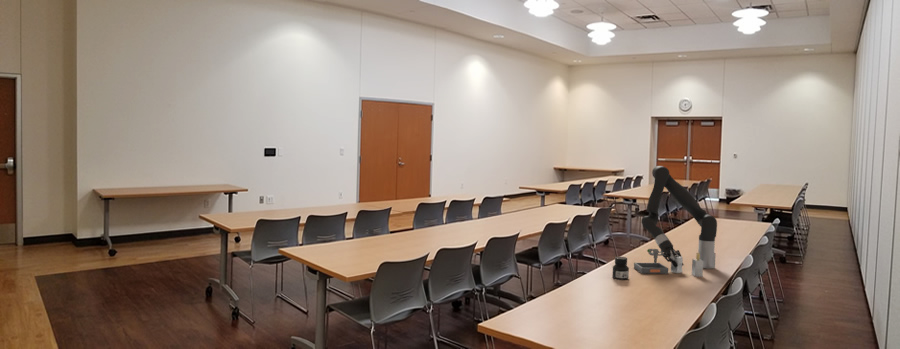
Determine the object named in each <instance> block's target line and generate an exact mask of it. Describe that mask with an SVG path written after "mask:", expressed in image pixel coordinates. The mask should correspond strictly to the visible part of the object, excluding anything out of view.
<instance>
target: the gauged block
mask: <svg viewBox="0 0 900 349" xmlns="http://www.w3.org/2000/svg"><path fill="white" fill-rule="evenodd" d="M695 255H696V256H695V258H692V261H691V276H692V277H696V278H699V277H700V278H701V277H703V275H704V274H703V273H704V268H703V260H701V259H700V253H698V252H696V254H695Z"/></svg>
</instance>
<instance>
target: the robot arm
mask: <svg viewBox="0 0 900 349" xmlns="http://www.w3.org/2000/svg"><path fill="white" fill-rule="evenodd" d="M651 172H652V173H651V174H652V177H653V179H654V182H653V183H654V184H653V188H652V191H651V193H650V194H649V195H650V196H649V197H648V201H647V206H646V212H647V213H648V215H645V216H642V218H641V224H642V226H643V228H644V229H645V230H646V231H647V232H648V233H649V234H650V235H651V236H652V238H653V239H654V241H655V244H656V245H657V246H658V248H659V250H660V252H661V251H662V252H663V254H662V257H663V258H664V259H665V261H667V263H669V262H670V263H672V264H673V266H674V267H677V266H678V265H677V263H676V262H675V260H674V258H673V256H680V257H683V256H682V255H681V251H680V250H678V249H677V250H675V248H674V244H672V241H671V240H670V239H669V237H668V236H667V235H666V234H665V233H664V230H663V229H662V228H661V227H659V226H657V225H658V222H659V209H660V204H661V201H662V195H663V192H664V189H666V190H667V192H669V194H670V195H671V196H672V197H673V199H674V200H675V202H677V203H678V205H680V206H681V207H682V208H683V209H684V210H685V211H686V212H688V213H689V214H690V216H692V217H693V218H694V220H695V222H696V223H697V224H698V225H699V227H700V234H699V235H698V248H697V251H698V252H697V253H700V259H701V260H703V269H706V270H707V269H709V270H710V269H715V268H716V257H717V256H716V255H717V254H716V252H715V244H716V243H715V242H716V238H717V231H718V221H717V219H716V217H715V216H713V215H710V214H709V213H707V212H706V211H705V210H704V209H703V208H702V207H701V206H700V205H699V203H698V201H697V199H696V198H695V196H693V194H691V192H689V190H688V189H686V188H685V187H684V186H683V185H682V184H680V183H679V182H678V181H677V180H675V179H674V177H672V175H671V174H670V171H669V169H668V168H667V167H665V166H663V165H657V166H656V165H655V167H653V169H652V171H651ZM671 258H672V259H671ZM683 266H684V262H683V263H682V267H683Z"/></svg>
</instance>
